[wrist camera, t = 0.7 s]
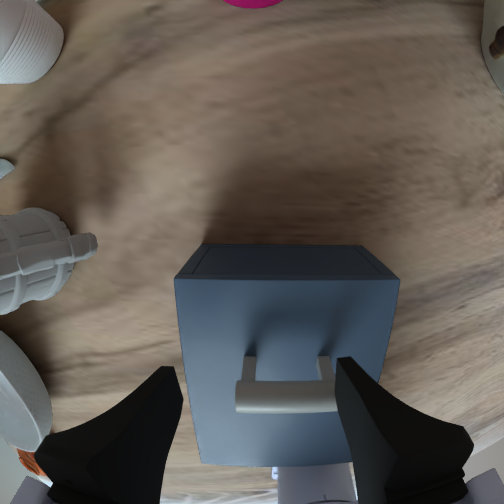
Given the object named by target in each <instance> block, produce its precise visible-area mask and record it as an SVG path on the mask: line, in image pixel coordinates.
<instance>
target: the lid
mask: <svg viewBox="0 0 504 504" xmlns="http://www.w3.org/2000/svg"><path fill="white" fill-rule="evenodd" d="M399 285H400V279H399V278H398V277H397V276H396V275H361V276H272V275H202V274H177V275H176V276H175V277H174V287H175V297H176V307H177V316H178V325H179V333H180V341H181V349H182V356H183V363H184V370H185V377H186V383H187V389H188V395H189V401H190V407H191V413H192V418H193V424H194V429H195V434H196V439H197V444H198V449H199V454H200V459H201V463H204V464H214V465H227V466H245V467H298V466H317V465H329V464H340V463H348V462H352V456H351V452H350V448H349V445H348V442H347V439H346V436H345V433H344V429H343V426H342V423H341V420H340V417H339V414H338V410H337V405H336V399H335V392H334V390H335V377H336V362H337V358H340V357H348V356H351V357H352V358H353V359H354V360H355V361H356V362H357V363H358V364H359V365H360V366H361V368H362V369H363V370H364V371H365V372H366V373H367V374H368V375H369V376H371V377H372V378H373V379H374V380H375V381H376V382H377V383H378V382H379V378H380V375H381V371H382V367H383V363H384V359H385V355H386V351H387V347H388V342H389V338H390V333H391V329H392V324H393V319H394V314H395V308H396V303H397V297H398V291H399Z"/></svg>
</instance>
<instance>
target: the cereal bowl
mask: <svg viewBox="0 0 504 504" xmlns="http://www.w3.org/2000/svg"><path fill="white" fill-rule="evenodd" d="M52 416H53V414H52V407H51V402H50V398H49V395H48V392H47V390H46V388H45V386H44V383H43V381H42V379H41V377H40V376H39V374H38V372H37V371H36V369H35V367H34V366H33V364H32V363H31V361H30V360H29V359H28V358H27V356H26V355H25V354H24V352H23V351H22V350H21V349H20V348H19V347H18V345H17V344H16V343H14V341H13V340H12V339H10V338H9V337H8V336H7V335H6V334H5V333H4V332H2V331H0V438H1V439H3V440H4V441H6V442H7V443H9V444H11V445H12V446H14V447H16V448H18V449H21V450H24V451H28V452H35V451H36V450H37V448H38V447H39V445H40V444H41V442H42V441H43V439H44V438H45V436H46V435H49V433H50V430H51V426H52V420H53V419H52Z"/></svg>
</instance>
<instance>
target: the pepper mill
mask: <svg viewBox="0 0 504 504" xmlns="http://www.w3.org/2000/svg"><path fill="white" fill-rule="evenodd" d="M223 1H225V2H227V3H229V4H231V5H234V6H237V7H242V8H264V7H268V6H272V5H274V4H277V3H279V2H281V1H282V0H223Z"/></svg>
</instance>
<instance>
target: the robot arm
mask: <svg viewBox="0 0 504 504" xmlns="http://www.w3.org/2000/svg"><path fill="white" fill-rule="evenodd" d="M334 392H335V399H336V405H337V410H338V414H339V417H340V420H341V423H342V426H343V429H344V433H345V436H346V439H347V442H348V445H349V448H350V452H351V456H352V462H353V468H354V474H355V480H356V488H357V496H358V500H356V495H355V490H354V486H353V481H352V476H351V472H350V467H349V463H340V464H329V465H317V466H298V467H272V479H278V504H504V484H503V483H502V480H501V479H500V477H499V475H498V474H497V471H496V469H495V468H492V469H490V470H489V471H486V472H484V473H482V474H480V475H478V476H476V477H474V478H472V479H471V480H469V481H468V482H467V483H466V484H465V483H464V480H463V477H464V476H465V473H464V471H463V469H462V467H463V466H464V464H465V463H466V461H467V460H468V458H469V457H470V455H471V453H472V451H473V448H474V443H473V442H472V440H471V438H470V436H469V434H468V433H467V431H466V430H465V429H464V427H463V426H460V425H456V424H452V423H448V422H445V421H442V420H439V419H436V418H434V417H431V416H429V415H426V414H424V413H422V412H420V411H418V410H416V409H414V408H412V407H410V406H408V405H407V404H405V403H403V402H402V401H400V400H399V399H397V398H396V397H394V396H393V395H392V394H390V393H389V392H388V391H386V390H385V389H384V388H383V387H382V386H380V385H379V384H378V383H377V382H376V381H375V380H374V379H373V378H372V377H371V376H369V375H368V374H367V373H366V372H365V371H364V370H363V369H362V368H361V366H360V365H359V364H358V363H357V362H356V361H355V360H354V359H353V358H352V357H351V356H348V357H340V358H337V362H336V377H335V390H334ZM182 405H183V396H182V393H181V389H180V386H179V383H178V379H177V376H176V372H175V369H174V366H161V367H160V368H159V369H157V370H156V371H155V372H154V373H153V374H152V375H151V376H150V377H149V378H148V379H147V380H146V381H144V382H143V383H142V384H141V385H140V386H139V387H138V388H137V389H136V390H134V391H133V392H132V393H131V394H129V395H128V396H127V397H126V398H124V399H123V400H122V401H121V402H119V403H118V404H117V405H115V406H114V407H112V408H111V409H109V410H108V411H106V412H105V413H103V414H101V415H99V416H97V417H96V418H94V419H92V420H90V421H88V422H86V423H84V424H81V425H79V426H76V427H74V428H71V429H68V430H65V431H62V432H58V433H54V434H51V435H46V436H45V438H44V439H43V441H42V442H41V444H40V445H39V447H38V448H37V450H36V451H35V453H34V459H35V461H36V463H37V464H38V466H39V467H40V468H41V469H42V471H43V472H44V473H45V474H46V475H47V476H48V478H49V479H50V480H51V481H52V482H53V484H52V486H51V488H50V487H49V486H48V485H46V484H44V483H43V482H40V481H38V480H36V479H34V478H31V477H29V476H26V478H25V479H24V481H23V483H22V484H21V486H20V488H19V489H18V491H17V493H16V495H15V496H14V498H13V500H12V501H11V503H10V504H160V495H161V488H162V481H163V475H164V470H165V464H166V460H167V456H168V453H169V450H170V447H171V444H172V441H173V438H174V435H175V432H176V429H177V426H178V423H179V420H180V416H181V411H182Z"/></svg>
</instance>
